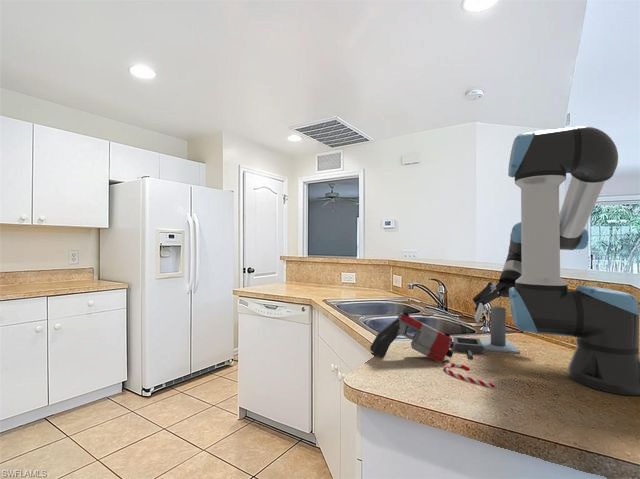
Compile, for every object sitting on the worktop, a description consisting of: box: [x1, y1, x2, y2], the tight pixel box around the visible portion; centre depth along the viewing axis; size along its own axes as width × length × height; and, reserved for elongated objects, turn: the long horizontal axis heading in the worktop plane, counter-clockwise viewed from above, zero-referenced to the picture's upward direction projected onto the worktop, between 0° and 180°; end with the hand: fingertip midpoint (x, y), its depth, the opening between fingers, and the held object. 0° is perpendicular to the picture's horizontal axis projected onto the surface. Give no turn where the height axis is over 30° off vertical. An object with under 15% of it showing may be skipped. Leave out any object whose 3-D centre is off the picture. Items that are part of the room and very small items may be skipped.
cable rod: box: [490, 303, 507, 346], centre depth 110 cm, size 4×4×13 cm
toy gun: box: [369, 311, 454, 363], centre depth 99 cm, size 5×22×15 cm, turn 79°
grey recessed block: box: [452, 336, 484, 360], centre depth 104 cm, size 14×8×2 cm, turn 162°
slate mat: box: [478, 337, 521, 355], centre depth 110 cm, size 12×10×1 cm
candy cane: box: [443, 362, 496, 389], centre depth 85 cm, size 8×1×15 cm
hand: (497, 323), depth 110 cm, fingers open, 13 cm apart
